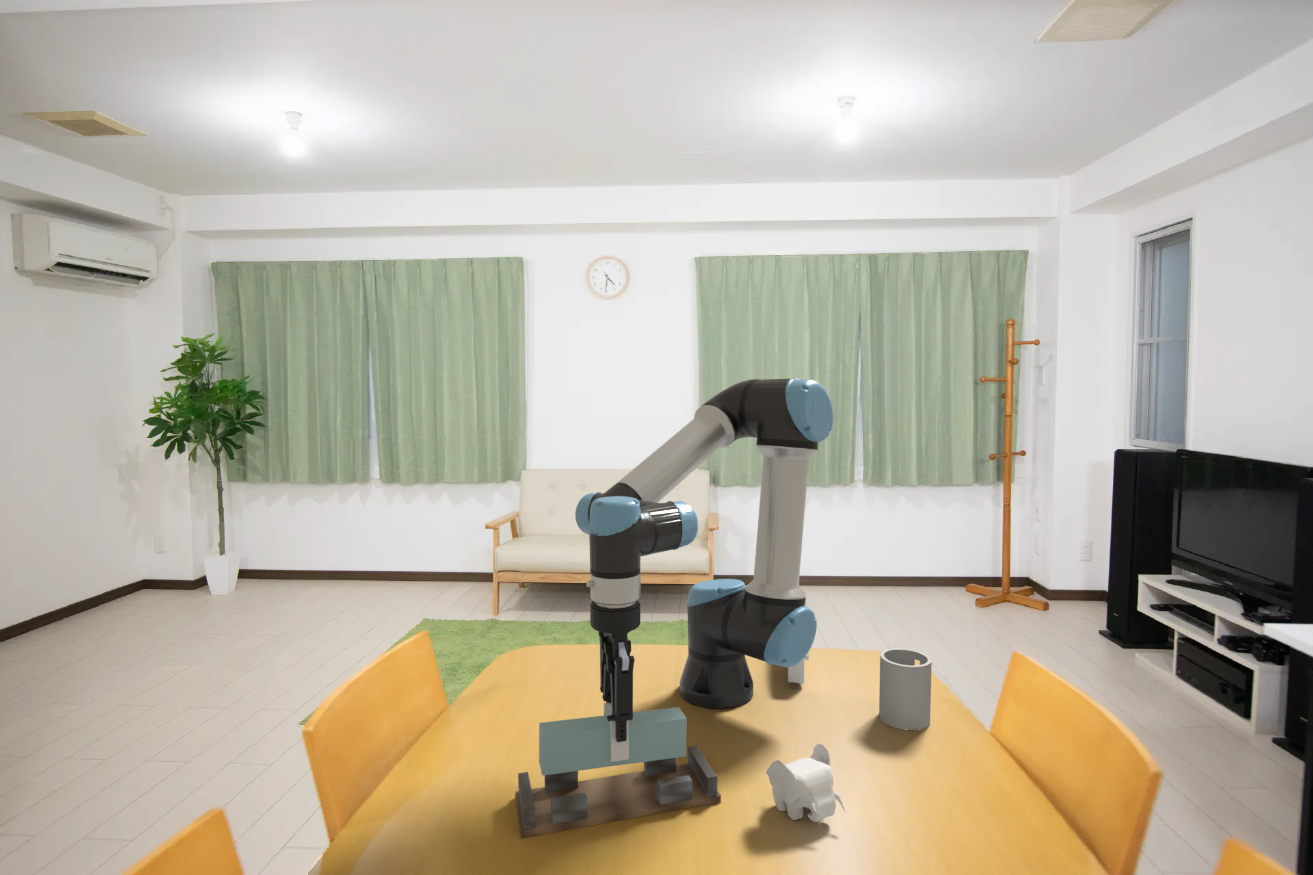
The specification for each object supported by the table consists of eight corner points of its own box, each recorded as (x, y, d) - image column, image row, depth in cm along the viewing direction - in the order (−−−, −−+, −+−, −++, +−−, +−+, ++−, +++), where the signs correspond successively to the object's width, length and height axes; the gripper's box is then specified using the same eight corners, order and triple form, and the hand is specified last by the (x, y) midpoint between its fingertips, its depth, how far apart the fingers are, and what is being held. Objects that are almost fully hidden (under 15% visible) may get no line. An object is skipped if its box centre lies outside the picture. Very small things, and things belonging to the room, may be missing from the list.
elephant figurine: (810, 846, 96) (810, 784, 96) (753, 802, 107) (754, 746, 106) (858, 822, 102) (859, 763, 101) (800, 783, 112) (800, 729, 111)
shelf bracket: (807, 644, 171) (807, 598, 168) (808, 710, 148) (809, 658, 144) (784, 643, 173) (784, 597, 169) (782, 708, 149) (782, 656, 146)
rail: (678, 743, 112) (678, 706, 111) (686, 756, 108) (686, 718, 107) (538, 761, 106) (539, 722, 105) (542, 775, 102) (542, 735, 101)
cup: (877, 725, 130) (878, 662, 130) (881, 704, 139) (882, 645, 138) (929, 734, 127) (931, 669, 126) (930, 712, 135) (931, 651, 135)
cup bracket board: (698, 767, 116) (698, 744, 116) (720, 801, 107) (720, 776, 107) (515, 797, 108) (514, 772, 108) (521, 837, 99) (520, 810, 98)
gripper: (580, 587, 112) (582, 728, 114) (602, 620, 96) (603, 785, 98) (626, 583, 114) (626, 722, 116) (654, 616, 98) (655, 777, 100)
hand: (616, 750), depth 107 cm, fingers closed on rail, 4 cm apart
